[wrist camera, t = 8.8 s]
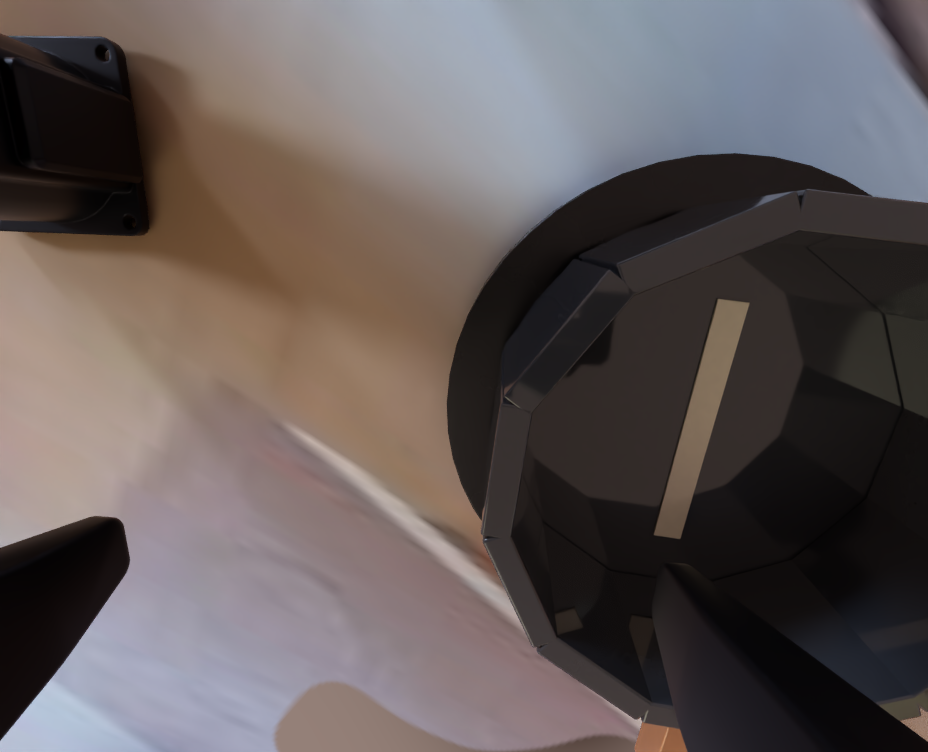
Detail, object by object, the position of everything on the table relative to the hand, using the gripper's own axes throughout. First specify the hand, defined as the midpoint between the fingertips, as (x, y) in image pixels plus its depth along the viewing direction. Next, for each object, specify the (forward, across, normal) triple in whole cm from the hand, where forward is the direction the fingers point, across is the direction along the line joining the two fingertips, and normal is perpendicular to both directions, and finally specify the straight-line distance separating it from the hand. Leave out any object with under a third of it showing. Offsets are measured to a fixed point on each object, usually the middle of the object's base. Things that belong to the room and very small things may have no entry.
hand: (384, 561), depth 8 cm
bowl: (+10, -9, +2) cm, 14 cm away
